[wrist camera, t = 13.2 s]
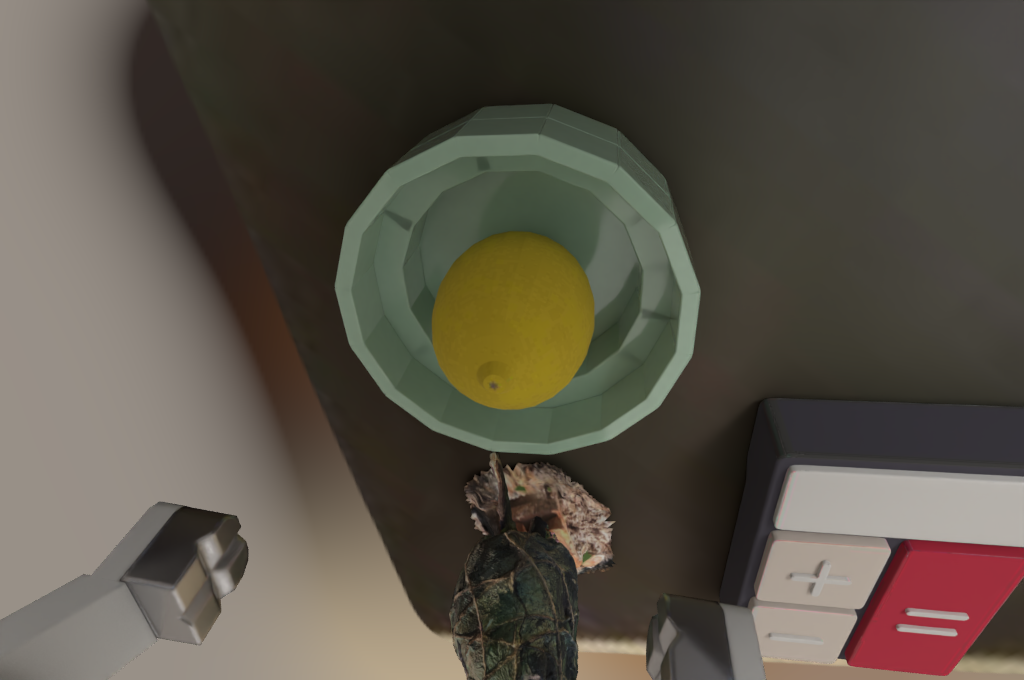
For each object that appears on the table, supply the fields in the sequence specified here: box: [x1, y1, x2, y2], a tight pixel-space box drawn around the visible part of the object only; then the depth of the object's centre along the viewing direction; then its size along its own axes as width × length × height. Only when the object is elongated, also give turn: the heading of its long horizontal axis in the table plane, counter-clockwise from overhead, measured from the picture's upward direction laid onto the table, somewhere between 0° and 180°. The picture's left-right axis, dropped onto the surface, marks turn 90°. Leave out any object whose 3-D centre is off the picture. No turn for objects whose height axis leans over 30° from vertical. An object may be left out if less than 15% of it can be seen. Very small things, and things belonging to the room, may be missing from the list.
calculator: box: [719, 398, 1024, 676], centre depth 27 cm, size 11×4×15 cm
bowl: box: [335, 104, 701, 455], centre depth 21 cm, size 12×12×5 cm
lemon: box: [432, 231, 594, 410], centre depth 20 cm, size 6×6×8 cm
